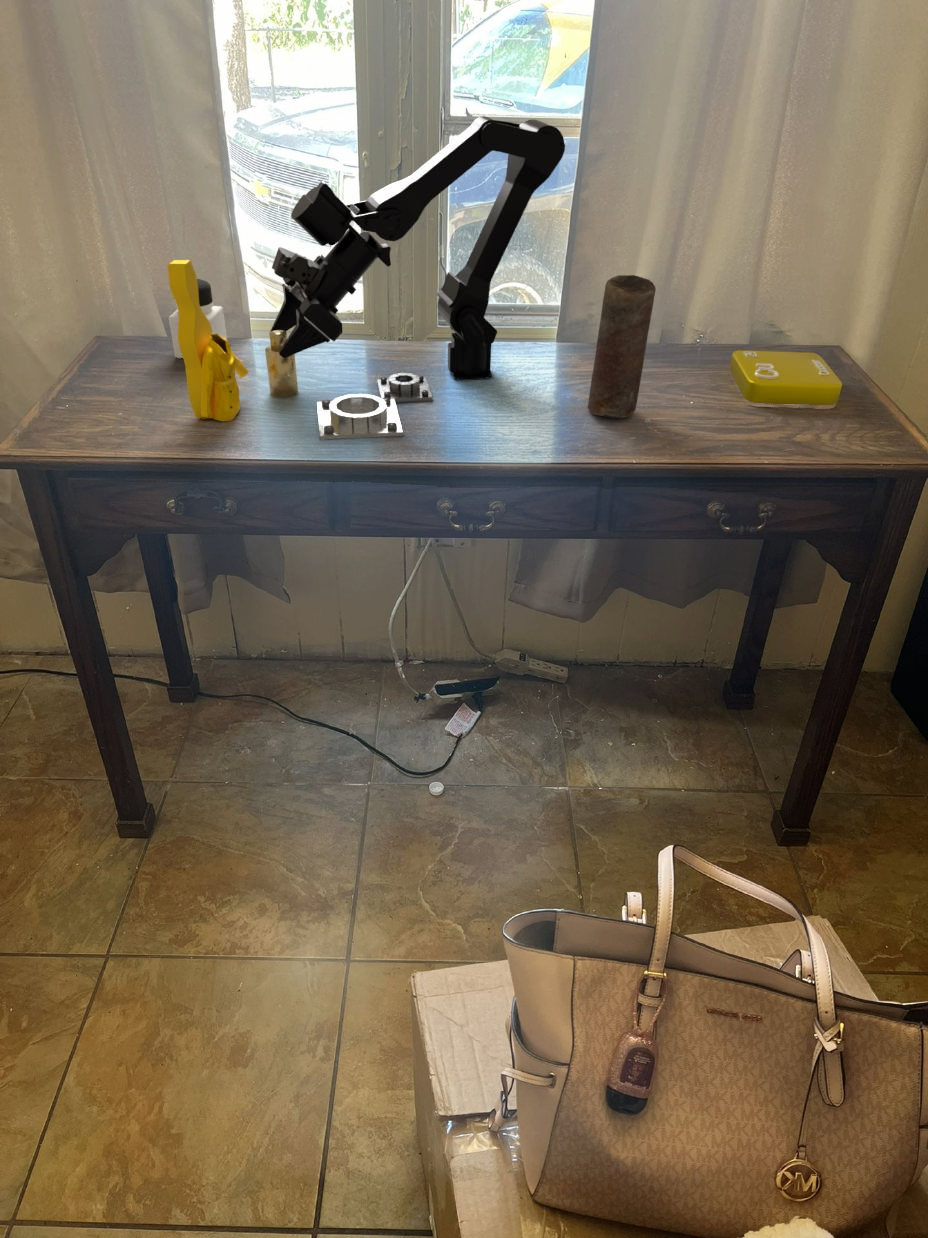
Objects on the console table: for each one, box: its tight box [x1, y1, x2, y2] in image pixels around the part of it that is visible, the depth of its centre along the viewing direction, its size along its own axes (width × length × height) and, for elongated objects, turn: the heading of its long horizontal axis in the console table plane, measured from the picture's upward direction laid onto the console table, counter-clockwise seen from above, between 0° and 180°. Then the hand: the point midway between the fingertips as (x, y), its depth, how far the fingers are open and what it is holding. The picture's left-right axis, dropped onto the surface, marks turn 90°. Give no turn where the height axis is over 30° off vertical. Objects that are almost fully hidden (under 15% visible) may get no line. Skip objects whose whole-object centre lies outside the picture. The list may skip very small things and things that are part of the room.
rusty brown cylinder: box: [587, 274, 656, 420], centre depth 131 cm, size 8×7×20 cm
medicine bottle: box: [168, 278, 228, 359], centre depth 151 cm, size 7×7×12 cm
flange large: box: [316, 393, 404, 441], centre depth 133 cm, size 12×12×2 cm
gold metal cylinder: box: [264, 330, 299, 399], centre depth 138 cm, size 4×4×10 cm
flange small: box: [376, 372, 433, 403], centre depth 142 cm, size 8×8×2 cm
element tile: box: [729, 349, 843, 405], centre depth 146 cm, size 15×15×5 cm
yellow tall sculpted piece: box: [167, 259, 249, 422], centre depth 128 cm, size 18×8×22 cm, turn 172°
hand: (276, 345), depth 137 cm, fingers open, 9 cm apart
